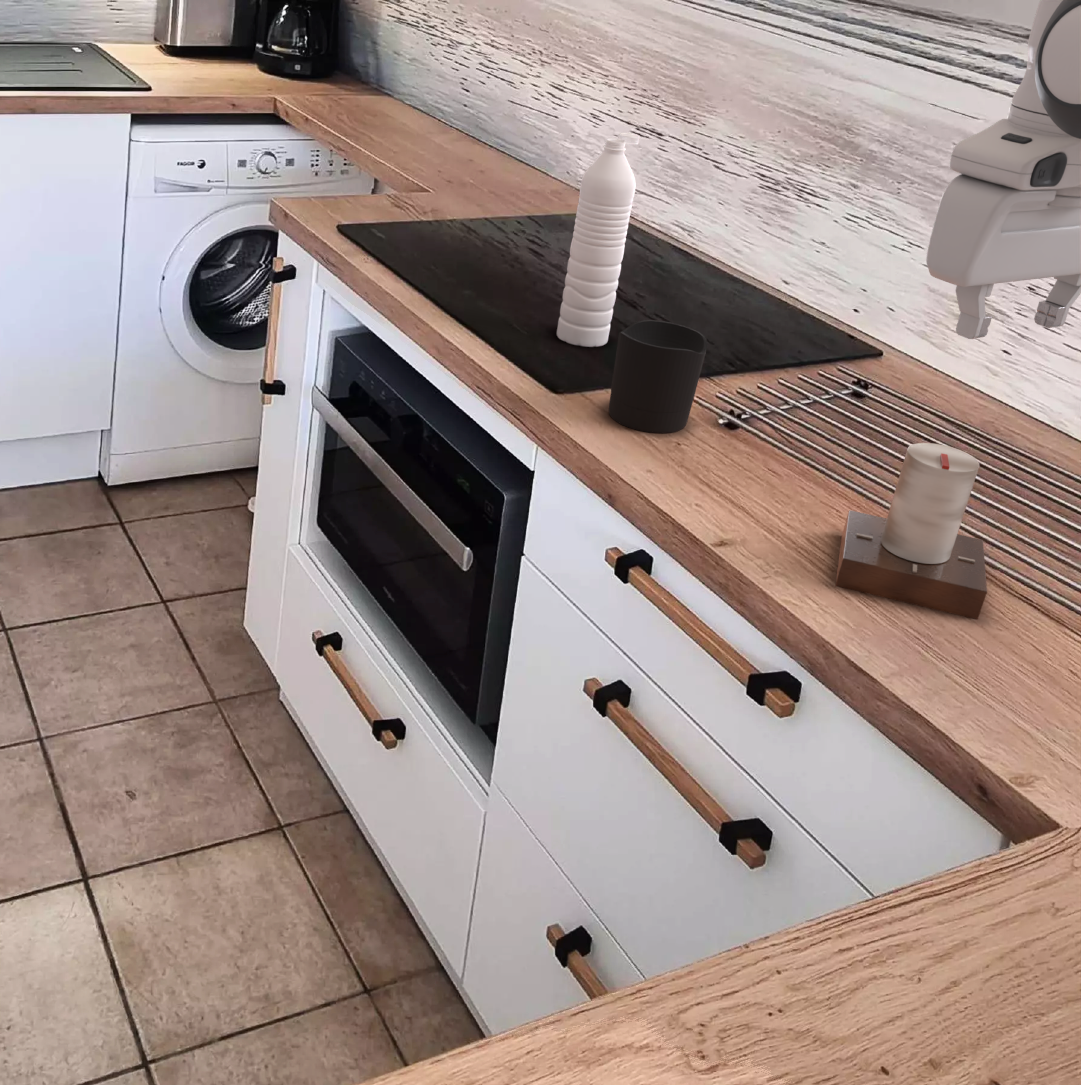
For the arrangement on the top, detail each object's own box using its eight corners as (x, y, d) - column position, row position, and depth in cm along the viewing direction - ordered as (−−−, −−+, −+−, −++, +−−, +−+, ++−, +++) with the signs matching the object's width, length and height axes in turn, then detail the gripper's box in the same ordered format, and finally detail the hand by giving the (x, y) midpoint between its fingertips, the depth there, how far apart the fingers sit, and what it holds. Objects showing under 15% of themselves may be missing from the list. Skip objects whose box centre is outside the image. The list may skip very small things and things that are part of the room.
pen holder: (705, 435, 155) (724, 348, 150) (628, 439, 152) (646, 350, 147) (663, 402, 163) (680, 319, 158) (589, 405, 160) (605, 320, 155)
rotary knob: (879, 527, 131) (907, 434, 126) (948, 541, 129) (978, 448, 125) (881, 555, 125) (909, 459, 121) (951, 570, 124) (983, 473, 120)
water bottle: (595, 352, 176) (631, 148, 165) (547, 339, 179) (580, 137, 167) (622, 335, 183) (658, 138, 171) (575, 323, 186) (608, 128, 174)
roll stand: (973, 568, 132) (983, 538, 130) (977, 621, 123) (987, 590, 121) (841, 537, 135) (849, 508, 134) (834, 588, 126) (843, 556, 124)
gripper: (1110, 140, 113) (1058, 308, 119) (937, 147, 103) (890, 329, 109) (1185, 157, 108) (1126, 331, 114) (1010, 166, 98) (957, 356, 105)
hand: (1009, 330), depth 112 cm, fingers open, 8 cm apart
